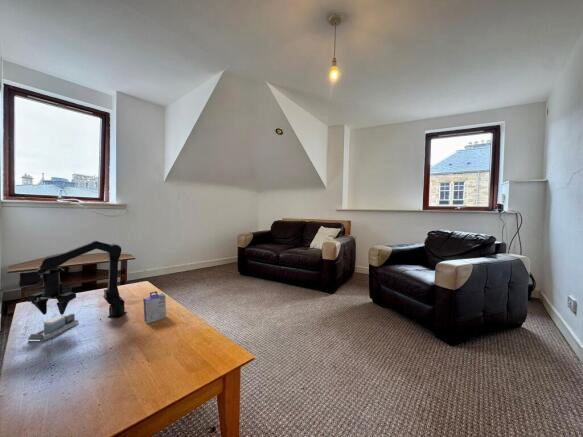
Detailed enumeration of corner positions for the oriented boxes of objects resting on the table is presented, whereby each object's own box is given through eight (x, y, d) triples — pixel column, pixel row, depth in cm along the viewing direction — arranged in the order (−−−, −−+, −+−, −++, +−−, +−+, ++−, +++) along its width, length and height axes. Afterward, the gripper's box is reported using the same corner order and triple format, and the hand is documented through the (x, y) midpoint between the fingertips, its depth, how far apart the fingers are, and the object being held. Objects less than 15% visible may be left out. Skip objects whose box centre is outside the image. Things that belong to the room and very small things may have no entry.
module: (65, 326, 122) (64, 316, 122) (52, 332, 116) (52, 322, 116) (56, 326, 123) (56, 316, 122) (44, 332, 117) (43, 322, 116)
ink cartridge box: (163, 314, 138) (162, 289, 137) (167, 317, 134) (166, 291, 133) (143, 320, 131) (142, 293, 130) (146, 324, 127) (145, 296, 126)
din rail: (78, 323, 128) (77, 313, 128) (44, 341, 111) (43, 329, 111) (64, 323, 128) (63, 313, 128) (28, 341, 111) (27, 329, 111)
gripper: (85, 277, 126) (86, 307, 127) (49, 277, 127) (51, 307, 127) (64, 284, 115) (66, 317, 116) (25, 284, 115) (27, 317, 116)
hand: (53, 314), depth 119 cm, fingers open, 8 cm apart
